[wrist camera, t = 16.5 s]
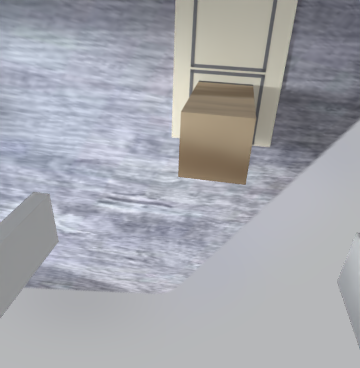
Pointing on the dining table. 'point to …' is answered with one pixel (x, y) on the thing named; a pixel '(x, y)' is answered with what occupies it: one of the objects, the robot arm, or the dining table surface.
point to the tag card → (233, 52)
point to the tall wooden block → (217, 132)
